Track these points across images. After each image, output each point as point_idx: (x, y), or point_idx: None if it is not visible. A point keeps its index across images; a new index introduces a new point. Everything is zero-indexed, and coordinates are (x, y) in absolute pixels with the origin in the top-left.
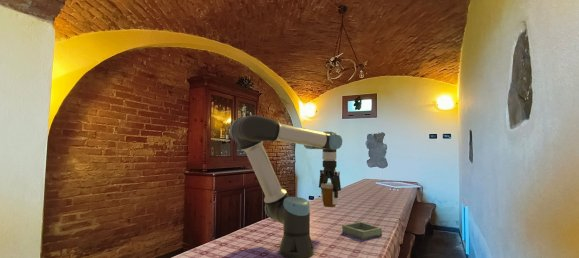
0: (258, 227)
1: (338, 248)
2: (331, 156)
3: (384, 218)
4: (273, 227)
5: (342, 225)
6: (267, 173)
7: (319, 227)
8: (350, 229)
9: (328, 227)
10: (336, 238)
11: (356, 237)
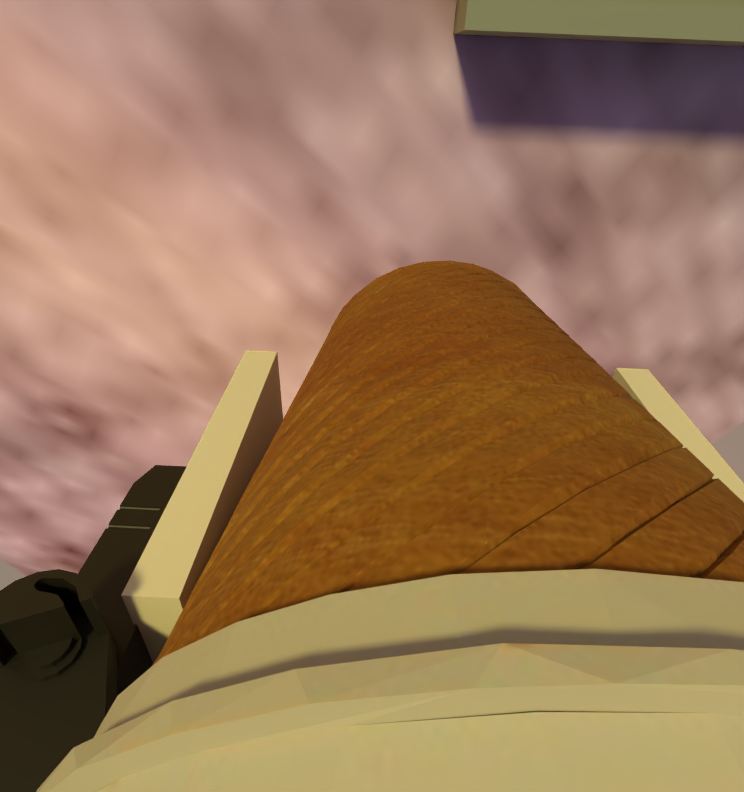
0: (10, 519)
1: (683, 395)
2: None
3: None
4: (31, 457)
5: (466, 29)
6: None
7: (143, 127)
8: (624, 38)
9: (181, 15)
10: (537, 250)
11: (696, 44)
